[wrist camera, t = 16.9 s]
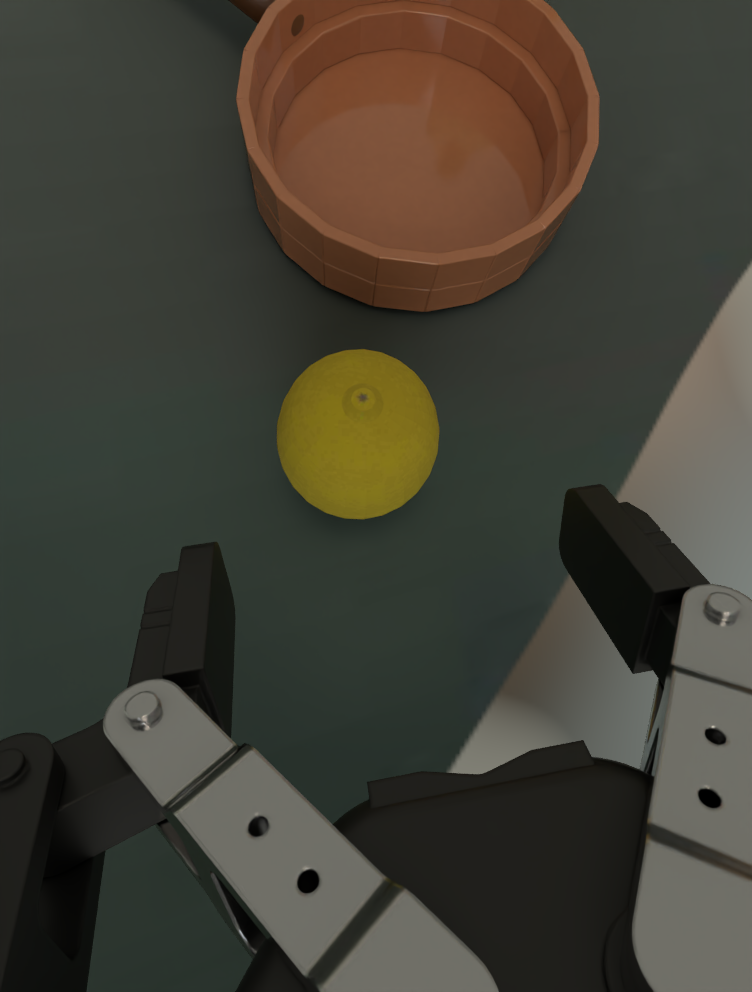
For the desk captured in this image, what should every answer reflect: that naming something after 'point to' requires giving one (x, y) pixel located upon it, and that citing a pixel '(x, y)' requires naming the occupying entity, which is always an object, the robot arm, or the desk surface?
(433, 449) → the lemon
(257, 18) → the pan handle
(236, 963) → the desk surface
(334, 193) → the pan
